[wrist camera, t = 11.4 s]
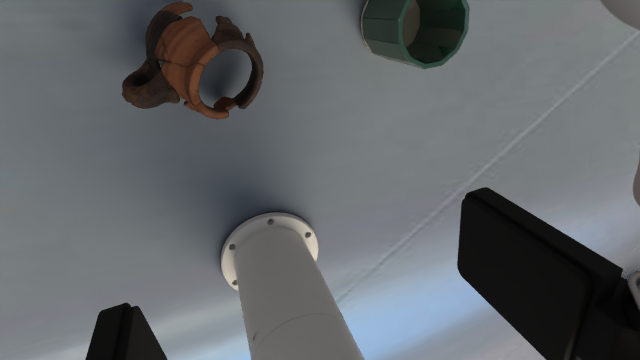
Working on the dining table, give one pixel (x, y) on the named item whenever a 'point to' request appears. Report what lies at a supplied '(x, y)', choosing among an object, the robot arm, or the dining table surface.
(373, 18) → the green mug
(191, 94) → the broken pottery
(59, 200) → the dining table surface
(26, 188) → the dining table surface
